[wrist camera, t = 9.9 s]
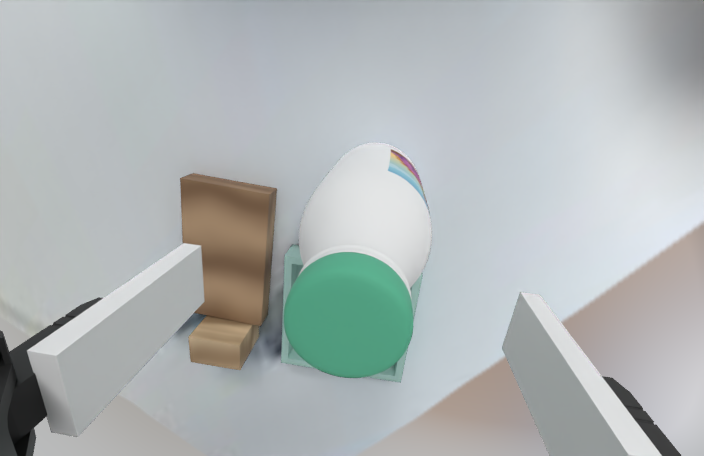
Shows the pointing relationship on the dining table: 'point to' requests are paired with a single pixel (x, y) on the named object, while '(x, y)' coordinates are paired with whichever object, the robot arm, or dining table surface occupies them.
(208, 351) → the block
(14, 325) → the dining table surface
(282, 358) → the tray
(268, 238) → the tan wooden board
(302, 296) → the milk bottle
